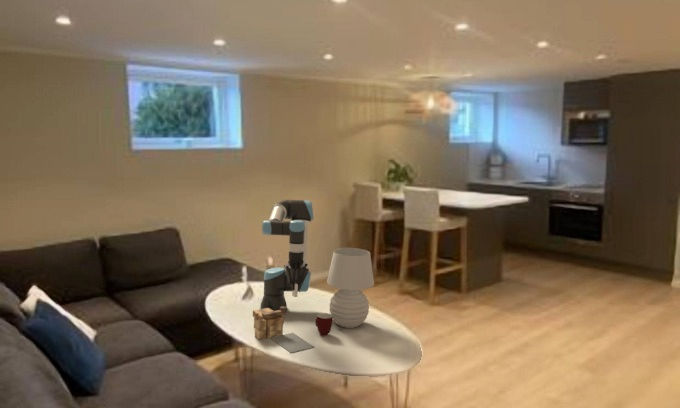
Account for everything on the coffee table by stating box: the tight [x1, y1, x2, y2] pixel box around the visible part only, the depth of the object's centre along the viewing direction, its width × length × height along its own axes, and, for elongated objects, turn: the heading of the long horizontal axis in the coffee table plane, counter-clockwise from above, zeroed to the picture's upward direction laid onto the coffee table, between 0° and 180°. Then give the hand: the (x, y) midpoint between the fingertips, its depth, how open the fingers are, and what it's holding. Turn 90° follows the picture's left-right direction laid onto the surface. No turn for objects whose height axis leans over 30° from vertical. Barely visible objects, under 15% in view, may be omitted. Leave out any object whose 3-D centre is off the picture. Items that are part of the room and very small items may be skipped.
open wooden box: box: [253, 313, 284, 340], centre depth 261 cm, size 13×16×12 cm
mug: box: [314, 312, 334, 337], centre depth 262 cm, size 11×8×10 cm
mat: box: [270, 332, 315, 354], centre depth 250 cm, size 13×20×1 cm, turn 36°
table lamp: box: [326, 247, 375, 329], centre depth 275 cm, size 25×25×40 cm
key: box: [262, 306, 287, 319], centre depth 257 cm, size 12×2×4 cm, turn 126°
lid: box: [252, 308, 285, 327], centre depth 262 cm, size 9×17×3 cm, turn 36°
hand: (294, 296), depth 263 cm, fingers closed
